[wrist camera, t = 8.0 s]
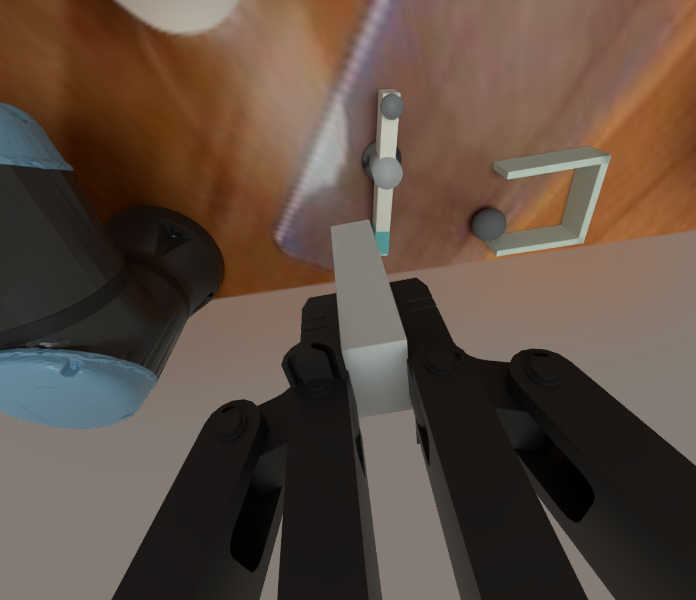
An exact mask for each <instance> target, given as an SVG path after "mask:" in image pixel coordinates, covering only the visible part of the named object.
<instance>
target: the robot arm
mask: <svg viewBox="0 0 696 600" xmlns="http://www.w3.org/2000/svg"><path fill="white" fill-rule="evenodd" d="M72 171H74V169H73V167H72V166H71V165H70V164H69V163H66V162H65V160H64V159H63V157H62V156H61V155H60V153H59V152H58V150H57V149H56V148H55V146H54V145H53V143H52V142H51V140H50V139H49V137H48V136H47V134H46V133H45V131H44V130H43V128H42V127H41V126H40V124H39V123H38V122H37V121H36V120H35V119H34V118H33V117H32V116H30V115H29V114H28V113H26V112H25V111H23V110H21V109H19V108H17V107H15V106H12V105H9V104H6V103H1V102H0V412H2V413H5V414H7V415H10V416H13V417H16V418H19V419H22V420H25V421H29V422H33V423H37V424H41V425H48V426H52V427H60V428H72V429H90V428H100V427H106V426H111V425H115V424H118V423H120V422H122V421H125V420H126V419H128V418H130V417H131V416H133V415H134V414H135V413H136V412H137V411H138V410H139V409H140V408H141V406H142V404H143V403H144V401H145V399H146V398H147V396H148V394H149V393H150V391H151V390H152V389H153V388H154V387H155V386H156V385H157V382H158V379H159V377H160V374H161V373H162V371H163V368H164V366H165V364H166V362H167V360H168V358H169V356H170V354H171V352H172V350H173V348H174V346H175V344H176V342H177V340H178V338H179V335H180V334H181V332H182V330H183V327H184V325H185V323H186V321H187V319H188V318H189V317H190V316H192V315H193V314H194V313H196V312H197V311H198V310H199V309H201V308H202V307H203V306H205V305H206V304H207V303H208V302H209V301H211V299H212V298H213V297H214V296H215V294H216V293H217V291H218V289H219V286H220V284H221V282H222V279H223V275H224V263H223V258H222V255H221V253H220V250H219V248H218V246H217V245H216V243H215V242H214V240H213V239H212V238H211V236H210V235H209V234H208V233H207V232H206V231H205V230H204V229H203V228H202V227H200V226H199V225H198V224H197V223H195V222H194V221H192V220H191V219H189V218H187V217H186V216H184V215H182V214H179V213H177V212H175V211H172V210H169V209H165V208H161V207H154V206H139V207H133V208H129V209H126V210H124V211H122V212H120V213H118V214H117V215H115V216H114V217H113V218H112V219H110V220H109V221H108V222H107V223H106V224H105V225H104V223H103V222H102V220H101V218H100V217H99V215H98V213H97V212H96V210H95V208H94V207H93V205H92V203H91V202H90V200H89V198H88V197H87V195H86V193H85V192H84V190H83V188H82V187H81V185H80V184H79V182H78V180H77V179H76V177H75V175H74V174H73V172H72ZM331 236H332V247H333V259H334V270H335V282H336V293H334V294H329V295H323V296H317V297H312V298H309V299H308V300H307V302H306V304H305V305H304V307H303V309H302V323H301V332H302V333H301V342H300V343H298V344H297V345H295V346H294V347H292V348H291V349H290V350H289V351H288V352H287V354H286V355H285V356H284V359H283V362H282V368H283V370H284V372H285V375H286V377H287V379H288V382H289V384H290V386H291V387H290V388H289V389H287V390H286V391H285V392H284V393H282V394H281V395H279V396H277V397H276V398H273V399H271V400H269V401H267V402H265V403H263V404H261V405H259V406H256V405H255V404H254V403H253V402H251V401H248V400H244V399H243V400H235V401H231V402H229V403H227V404H225V405H222V406H221V407H220V408H218V409H217V410H216V411H215V412H213V413H212V414H211V416H210V417H209V418H208V420H207V421H206V423H205V424H204V426H203V428H202V430H201V432H200V434H199V435H198V437H197V439H196V441H195V443H194V445H193V447H192V449H191V451H190V452H189V454H188V456H187V458H186V460H185V462H184V464H183V466H182V468H181V469H180V471H179V473H178V475H177V477H176V479H175V481H174V483H173V485H172V486H171V489H170V490H169V492H168V494H167V496H166V498H165V500H164V502H163V503H162V506H161V507H160V509H159V511H158V513H157V515H156V517H155V519H154V520H153V522H152V525H151V526H150V528H149V530H148V532H147V534H146V536H145V538H144V539H143V541H142V543H141V545H140V547H139V549H138V551H137V553H136V555H135V557H134V558H133V560H132V562H131V564H130V566H129V568H128V570H127V571H126V574H125V575H124V577H123V579H122V581H121V583H120V585H119V587H118V589H117V590H116V592H115V594H114V596H113V598H112V600H259V599H260V596H261V592H262V588H263V585H264V581H265V577H266V573H267V570H268V566H269V563H270V559H271V555H272V551H273V548H274V544H275V540H276V537H277V533H278V529H279V526H280V522H281V518H282V515H283V522H282V537H281V552H280V567H279V582H278V598H277V600H382V595H381V587H380V579H379V570H378V562H377V554H376V546H375V538H374V530H373V522H372V513H371V505H370V497H369V489H368V481H367V474H366V465H365V457H364V449H363V441H362V435H361V431H360V428H359V419H358V418H361V417H367V416H373V415H378V414H384V413H390V412H397V411H403V410H409V409H412V406H413V410H414V414H415V418H416V433H417V443H420V445H421V449H422V453H423V456H424V460H425V464H426V468H427V472H428V475H429V479H430V483H431V487H432V491H433V494H434V498H435V502H436V506H437V510H438V514H439V518H440V521H441V525H442V529H443V533H444V537H445V541H446V544H447V548H448V552H449V556H450V560H451V563H452V567H453V571H454V575H455V579H456V583H457V586H458V590H459V594H460V598H461V600H588V598H587V596H586V594H585V592H584V590H583V588H582V586H581V584H580V582H579V580H578V579H577V576H576V574H575V572H574V570H573V568H572V566H571V564H570V562H569V560H568V558H567V556H566V553H565V552H564V550H563V548H562V545H561V543H560V541H559V539H558V538H557V535H556V533H555V531H554V529H553V527H552V525H551V523H550V521H549V519H548V517H547V515H546V513H545V511H544V509H543V507H542V505H541V503H540V501H539V499H538V497H539V498H540V499H541V501H542V502H543V503H544V505H545V506H546V507H547V509H548V510H549V511H550V512H551V514H552V515H553V517H554V518H555V519H556V521H557V522H558V523H559V525H560V526H561V527H562V528H563V530H564V531H565V533H566V534H567V535H568V536H569V538H570V539H571V541H572V542H573V543H574V545H575V546H576V547H577V548H578V550H579V551H580V552H581V554H582V555H583V557H584V558H585V559H586V561H587V562H588V563H589V565H590V566H591V567H592V569H593V570H594V571H595V573H596V574H597V575H598V577H599V578H600V579H601V581H602V582H603V583H604V585H605V586H606V587H607V589H608V590H609V592H610V593H611V594H612V596H613V597H614V598H615V600H696V466H695V465H694V464H693V463H691V462H690V461H689V460H688V459H687V458H686V457H685V456H683V455H682V454H681V453H680V452H679V451H677V450H676V449H675V448H674V447H673V446H671V445H670V444H669V443H668V442H667V441H665V440H664V439H663V438H662V437H661V436H659V435H658V434H657V433H656V432H655V431H653V430H652V429H651V428H649V426H647V425H646V424H645V423H644V422H643V421H641V420H640V419H639V418H638V417H637V416H635V415H634V414H633V413H632V412H631V411H629V410H628V409H627V408H626V407H625V406H623V405H622V404H621V403H620V402H619V401H617V400H616V399H615V398H614V397H613V396H611V395H610V394H609V393H608V392H606V391H605V390H604V389H603V388H602V387H601V386H599V385H598V384H597V383H596V382H595V381H593V380H592V379H591V378H590V377H588V376H587V375H586V374H585V373H584V372H582V371H581V370H580V369H579V368H578V367H577V366H575V365H574V364H573V363H572V362H570V361H569V360H568V359H566V358H564V357H563V356H561V355H560V354H557V353H554V352H551V351H548V350H544V349H528V350H523V351H520V352H519V353H517V354H516V355H514V356H513V358H512V360H511V362H499V361H488V360H482V359H477V358H475V357H472V356H469V355H468V354H466V353H465V352H464V351H463V350H462V349H461V348H459V347H457V346H456V345H455V343H454V342H453V340H452V338H451V336H450V334H449V332H448V329H447V327H446V325H445V323H444V321H443V319H442V316H441V315H440V312H439V310H438V308H437V307H436V304H435V302H434V300H433V299H432V295H431V293H430V291H429V289H428V287H427V285H425V284H424V283H423V282H421V281H420V280H419V279H417V278H412V279H406V280H401V281H395V282H390V283H389V282H388V278H387V275H386V272H385V269H384V265H383V262H382V259H381V256H380V253H379V249H378V246H377V243H376V240H375V237H374V233H373V230H372V227H371V224H370V221H369V219H368V220H363V221H358V222H352V223H347V224H342V225H336V226H331ZM536 494H537V495H538V497H537V495H536Z"/></svg>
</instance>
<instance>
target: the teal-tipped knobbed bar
mask: <svg viewBox="0 0 696 600" xmlns="http://www.w3.org/2000/svg"><path fill="white" fill-rule="evenodd" d="M400 95H401V93H399V92H398V91H396V90H395V89H379V91H378V113H377V135H376V151H374V152H373V154H372V155H371V157H370V160H369V166H370V170H371V173H372V176H373V179H374V202H373V219H372V230H373V233H374V237H375V240H376V243H377V246H378V249H379V253H380V256H386V255H388V251H389V239H390V220H391V207H392V195H393V188H394V187H396V186H397V185H398V184H399V183H400V181H401V179H402V176H403V171H402V167H401V166H400V164H399V162H398V160H397V159H396V145H397V132H398V120H399V117H400V115H401V114H402V112H403V109H404V104H403V101H402V99H401V98H400Z"/></svg>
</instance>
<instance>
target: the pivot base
mask: <svg viewBox="0 0 696 600" xmlns="http://www.w3.org/2000/svg"><path fill="white" fill-rule="evenodd" d="M374 151H376V141H374V142H372V143H371V144H369V145H368V146H367V148H366V149H365V151H364V153H363V157H362V164H363V168H364V171H365V173H366V174H367V175H368V176H369V177H370V178H371V179H373V176H372V173H371V170H370V166H369V160H370V157H371V155H372V154H373V152H374ZM396 159H397V160H398V162H399V164H400V165H401V154H400V151H399V149H398V148H397V146H396ZM373 180H374V179H373Z"/></svg>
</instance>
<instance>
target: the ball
mask: <svg viewBox="0 0 696 600" xmlns="http://www.w3.org/2000/svg"><path fill="white" fill-rule="evenodd" d="M505 229H506V218H505V216H504V215H503V213H502V212H500V211H499V210H497V209H492V208H489V209H485V210H482V211H480V212H479V213H478V214H477V215H476V216H475V217H474V219H473V222H472V230H473V233H474V234H475V236H476V237H477V238H479V239H481V240H484V241H492V240H495V239H497V238H499V237H500V236H501V235H502V234H503V233H504V231H505Z"/></svg>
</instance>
